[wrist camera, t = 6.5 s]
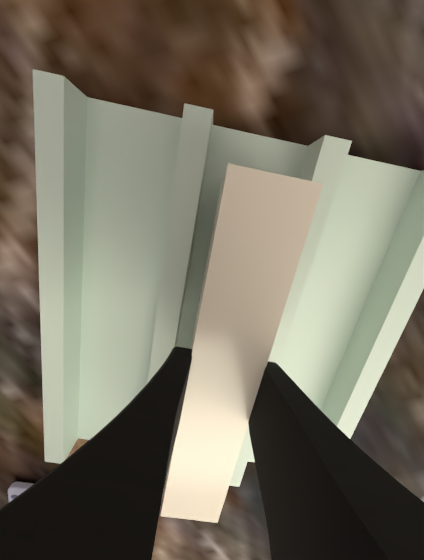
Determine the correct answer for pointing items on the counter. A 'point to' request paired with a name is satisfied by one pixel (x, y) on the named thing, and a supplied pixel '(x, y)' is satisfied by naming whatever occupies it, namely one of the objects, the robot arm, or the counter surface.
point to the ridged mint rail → (203, 257)
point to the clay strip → (235, 329)
